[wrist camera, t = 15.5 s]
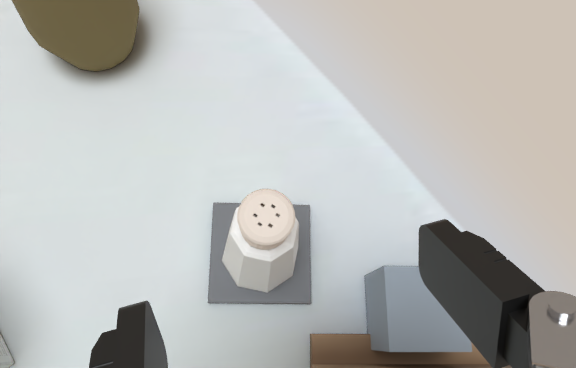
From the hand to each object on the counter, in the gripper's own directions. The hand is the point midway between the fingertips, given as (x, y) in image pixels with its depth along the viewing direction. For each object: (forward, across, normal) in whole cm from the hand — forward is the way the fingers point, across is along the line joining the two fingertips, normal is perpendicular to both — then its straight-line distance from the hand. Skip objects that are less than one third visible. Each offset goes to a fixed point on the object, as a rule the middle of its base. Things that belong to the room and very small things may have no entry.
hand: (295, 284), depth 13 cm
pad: (+17, +1, -11) cm, 20 cm away
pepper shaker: (+16, +1, -11) cm, 20 cm away
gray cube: (+12, +9, -16) cm, 22 cm away
